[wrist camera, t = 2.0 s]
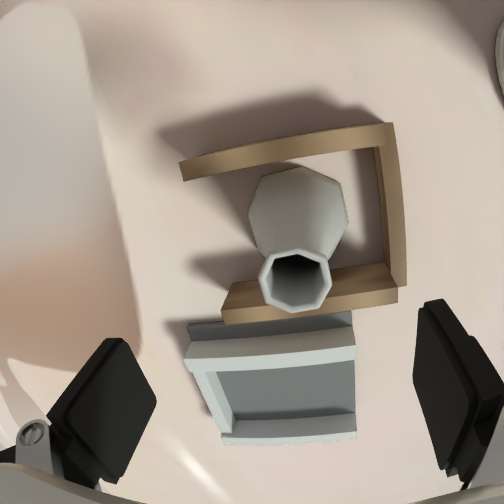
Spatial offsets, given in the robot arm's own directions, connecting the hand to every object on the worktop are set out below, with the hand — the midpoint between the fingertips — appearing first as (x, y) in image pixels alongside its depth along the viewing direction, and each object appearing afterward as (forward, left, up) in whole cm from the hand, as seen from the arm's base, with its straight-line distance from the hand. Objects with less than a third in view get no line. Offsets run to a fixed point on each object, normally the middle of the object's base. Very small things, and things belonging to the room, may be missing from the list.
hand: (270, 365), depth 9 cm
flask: (-1, 0, -15) cm, 15 cm away
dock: (+3, +16, -15) cm, 22 cm away
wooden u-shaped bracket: (-1, 0, -15) cm, 15 cm away
